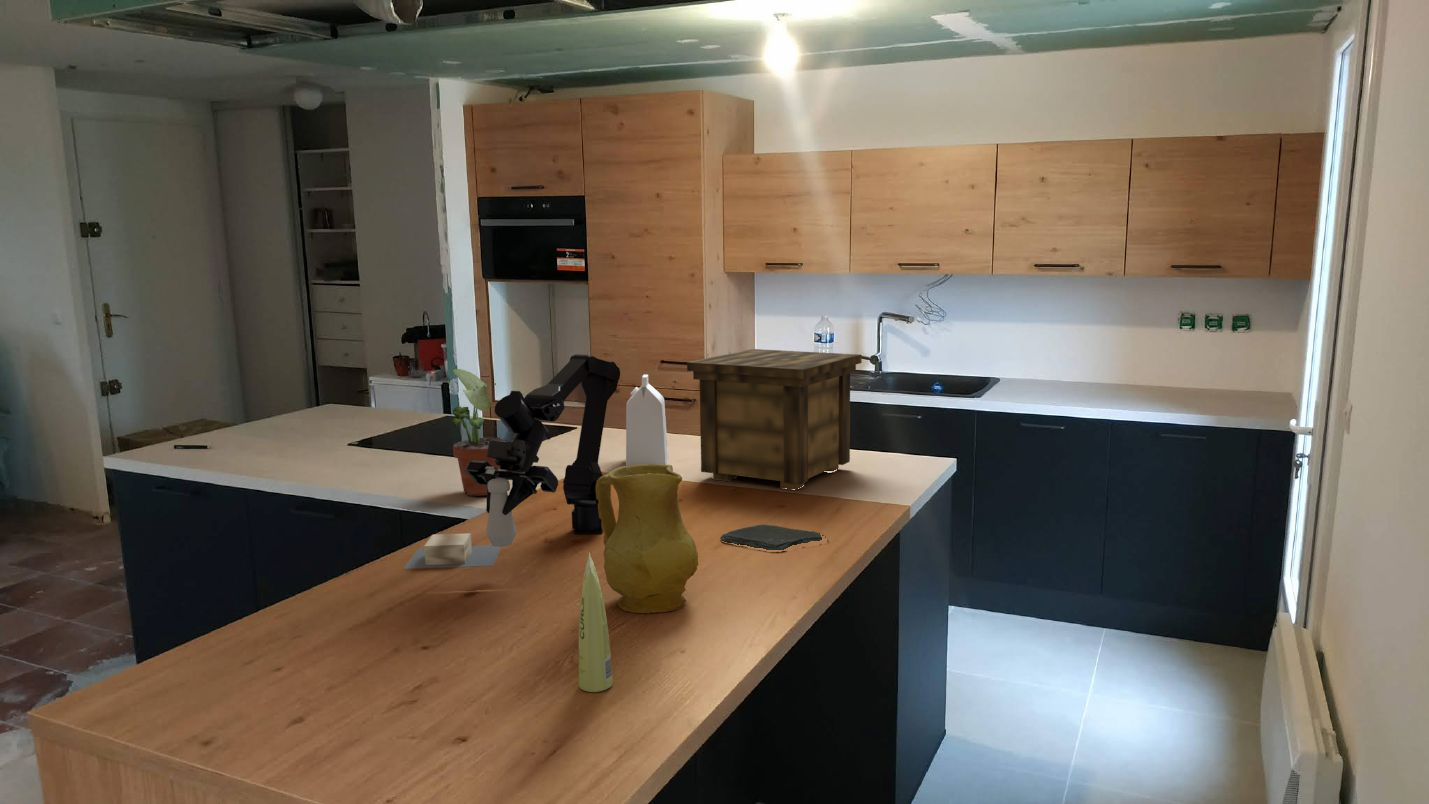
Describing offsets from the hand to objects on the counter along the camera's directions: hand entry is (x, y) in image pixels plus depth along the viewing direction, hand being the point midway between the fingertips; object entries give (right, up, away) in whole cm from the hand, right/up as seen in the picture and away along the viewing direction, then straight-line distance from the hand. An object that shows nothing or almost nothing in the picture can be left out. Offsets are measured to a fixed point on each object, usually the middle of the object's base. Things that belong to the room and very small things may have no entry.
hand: (495, 513), depth 194 cm
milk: (+23, +3, +102) cm, 104 cm away
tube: (+25, -21, -46) cm, 56 cm away
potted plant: (-18, -3, +69) cm, 71 cm away
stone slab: (+56, -9, +23) cm, 61 cm away
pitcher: (+31, -15, -11) cm, 36 cm away
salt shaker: (+1, -6, +2) cm, 7 cm away
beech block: (-13, -11, +14) cm, 22 cm away
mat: (-12, -11, +15) cm, 22 cm away
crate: (+60, +1, +84) cm, 103 cm away
